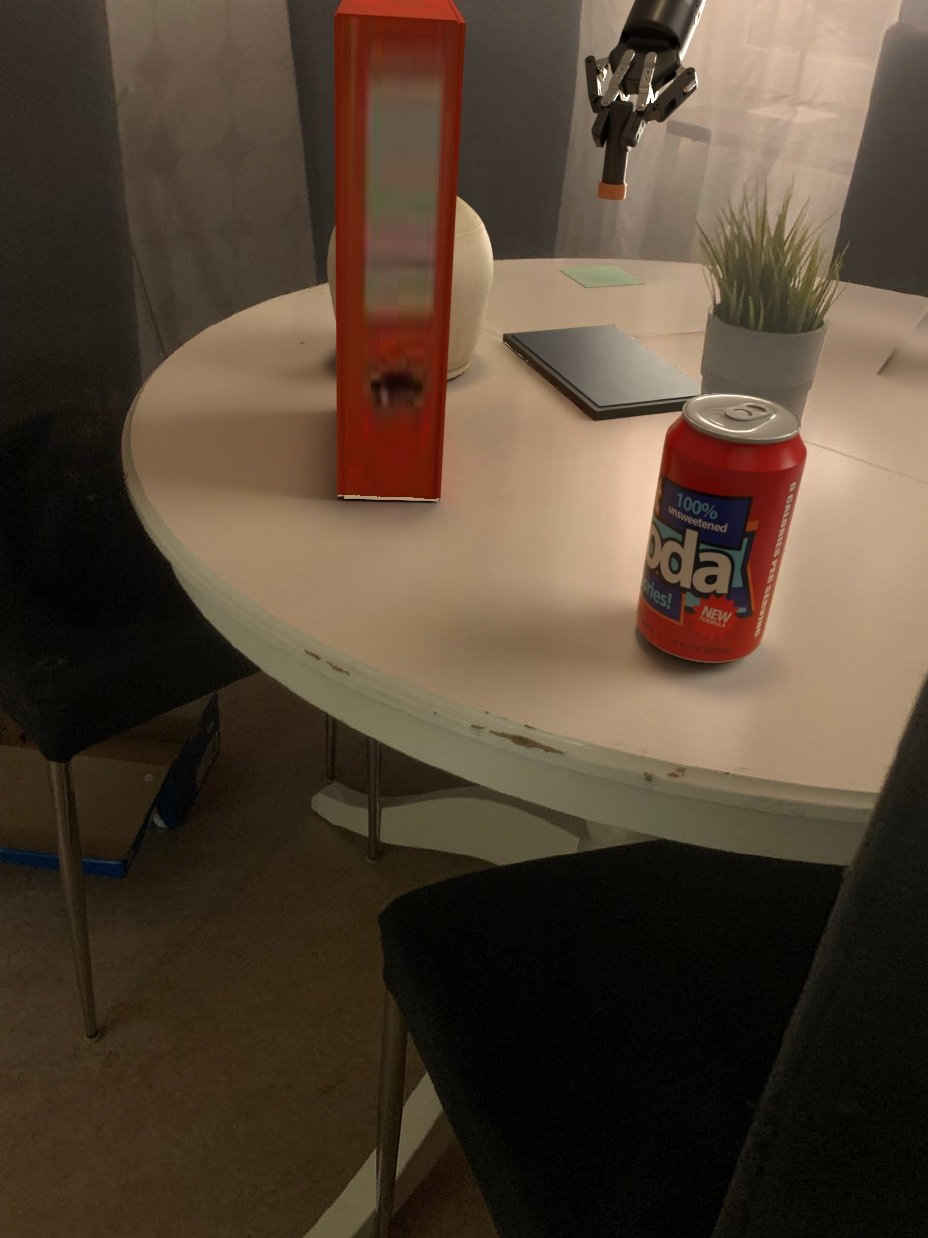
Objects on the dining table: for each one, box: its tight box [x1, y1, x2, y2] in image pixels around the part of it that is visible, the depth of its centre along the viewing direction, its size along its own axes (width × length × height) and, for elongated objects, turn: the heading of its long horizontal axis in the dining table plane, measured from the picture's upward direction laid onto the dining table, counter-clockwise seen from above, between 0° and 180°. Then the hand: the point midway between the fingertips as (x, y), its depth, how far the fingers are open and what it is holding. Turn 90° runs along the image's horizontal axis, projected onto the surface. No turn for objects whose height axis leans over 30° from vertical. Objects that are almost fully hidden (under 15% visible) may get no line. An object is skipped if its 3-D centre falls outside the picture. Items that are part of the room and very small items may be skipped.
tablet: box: [502, 324, 702, 421], centre depth 106 cm, size 13×21×1 cm, turn 21°
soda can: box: [636, 392, 808, 664], centre depth 64 cm, size 8×8×15 cm
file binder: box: [333, 0, 467, 499], centre depth 79 cm, size 8×17×32 cm, turn 3°
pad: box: [557, 264, 646, 289], centre depth 132 cm, size 8×8×1 cm
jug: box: [326, 195, 494, 379], centre depth 99 cm, size 15×16×25 cm
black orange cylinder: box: [597, 100, 635, 201], centre depth 122 cm, size 3×3×10 cm
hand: (611, 144), depth 120 cm, fingers closed on black orange cylinder, 2 cm apart
